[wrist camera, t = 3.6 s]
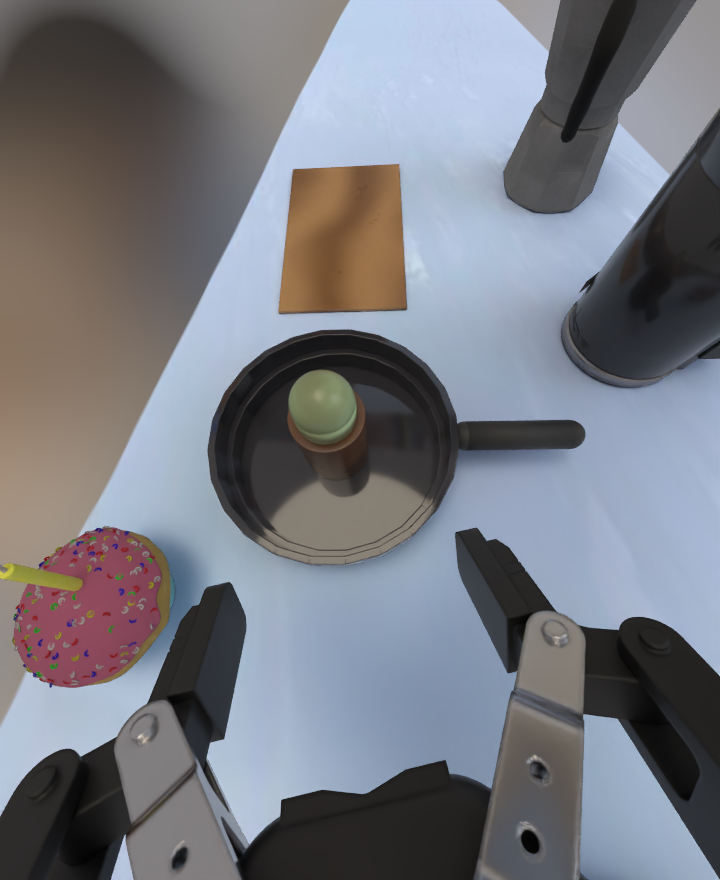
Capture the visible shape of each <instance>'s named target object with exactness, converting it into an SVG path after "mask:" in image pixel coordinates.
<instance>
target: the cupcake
mask: <svg viewBox="0 0 720 880" xmlns="http://www.w3.org/2000/svg"><path fill="white" fill-rule="evenodd" d="M106 527H107V528H106ZM87 532H88V533H87ZM59 548H60V549H59ZM58 549H59V550H58ZM57 550H58V551H57ZM55 551H56V553H53V554H52V555H51V556H50V557H46V558H45V559H44V560H45V561H44V562H42V563H40V564H39V567H40V568H39V569H34V568H30V567H25V566H21V565H16V564H11V563H8V564H5V565H4V566H2V565H0V578H1V579H5V580H11V581H17V582H23V583H28V585H27V587H26V589H25V591H24V593H23V595H22V598H21V602H20V604H19V605H18V606H17V607H16V609H17V608H18V612H17V614H15V615H14V620H15V628H14V638H13V643H14V645H15V651H17V650H18V652H19V654H20V656H21V658H22V660H23V662H24V663H25V664H24V665H23V666H24V667H26V669H27V671H28V672H30V673H31V672H32V673H33V677H36V678H38V677H39V678H40V679H39V680H41V681H43V682H47V683H50V688H51V687H52V685H55V686H60V687H69V688H76V687H82V686H88V685H95V684H101V683H106V682H109V681H112V680H114V679H116V678H118V677H120V676H121V675H123V674H124V673H126V672H127V671H128V670H129V669H130V668H132V667H133V666H134V665H135V664H136V663H137V662H138V661H139V659H140V658H141V657H142V656H143V655H144V654H145V653H146V651H147V650H148V649H149V648H150V646H151V645H152V644H153V642H154V641H155V640H156V638H157V637H158V636H159V634H160V633H161V632H162V630H163V629H164V628H165V626H166V624H167V622H168V620H169V614H170V609H171V607H172V604H173V601H174V596H175V586H174V581H173V578H172V576H171V574H170V570H169V566H168V562H167V560H166V557H165V555H164V554H163V552H162V551H161V550H160V549H159V548H158V547H157V546H156V545H155V544H153V542H152V541H151V540H150V539H148V538H147V537H145V536H142V535H139V534H136V533H133V532H129V531H123V530H120V529H117V528H113V527H108V526H104V527H103V528H102V529H101V528H97V529H95V530H94V531H86V532H85V534H83V535H82V536H80V537H78V538H76V539H74V540H72V541H71V542H69V543H68V544H67V545H65V546H64V547H58V548H57V549H56V550H55ZM47 558H48V560H47ZM15 616H16V617H15ZM28 669H29V670H28Z"/></svg>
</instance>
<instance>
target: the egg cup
mask: <svg viewBox="0 0 720 880" xmlns="http://www.w3.org/2000/svg"><path fill="white" fill-rule="evenodd" d="M288 407H289V411H288V416H287V422H288V428H289V431H290V433H291V435H292V437H293V438H294V440H295V442H296V443H297V445H298V446H299V448H300V450H301V451H302V453H303V454H304V456H305V458H306V459H307V461H308V462H309V464H310V466H311V467H312V469H313V470H314V471H315V472H316V473H317V474H319V475H320V476H322V477H324V478H327V479H331V480H342V479H346V478H349V477H351V476H353V475H355V474H356V473H357V472H358V471H359V470H360V469H361V468H362V467H363V466H364V464H365V462H366V460H367V456H368V438H367V425H366V413H365V407H364V404H363V401H362V400H361V398H360V396H359V395H358V394H357V393H356V392H355V391H354V390H353V389H352V387H351V386H350V384H349V383H348V382H347V381H346V380H345V378H344V377H342V376H341V375H339V374H337V373H335V372H333V371H329V370H314V371H310V372H308V373H306V374H304V375H303V376H301V377H300V378H299V379H298V380H297V381H296V382H295V384H294V385H293V387H292V389H291V391H290V394H289V400H288Z"/></svg>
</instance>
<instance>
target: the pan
mask: <svg viewBox="0 0 720 880" xmlns="http://www.w3.org/2000/svg"><path fill="white" fill-rule="evenodd" d="M314 370H329V371H333V372H335V373H337V374H339V375H341V376H342V377H344V378H345V380H346V381H347V382H348V383H349V384H350V386H351V387H352V389H353V390H354V391H355V392H356V393H357V394H358V395H359V396H360V398H361V400H362V401H363V404H364V407H365V413H366V425H367V438H368V456H367V460H366V462H365V464H364V466H363V467H362V468H361V469H360V470H359V471H358V472H357V473H356V474H355V475H353V476H351V477H349V478H346V479H342V480H331V479H327V478H324V477H322V476H320V475H319V474H317V473H316V472H315V471H314V470H313V469H312V467H311V466H310V464H309V462H308V461H307V459H306V458H305V456H304V454H303V453H302V451H301V450H300V448H299V446H298V445H297V443H296V442H295V440H294V438H293V437H292V435H291V433H290V431H289V428H288V422H287V416H288V411H289V407H288V400H289V394H290V391H291V389H292V387H293V385H294V384H295V382H296V381H297V380H298V379H299V378H300V377H301V376H303V375H304V374H306V373H308V372H310V371H314ZM458 451H459V439H458V429H457V419H456V414H455V412H454V409H453V407H452V404H451V402H450V399H449V397H448V394H447V392H446V389H445V387H444V386H443V385H442V383H441V382H440V381H439V379H438V378H437V377H436V375H435V374H434V373H433V372H432V370H431V369H430V368H429V366H428V365H427V364H426V363H425V362H423V361H422V360H421V359H419V358H418V357H417V356H416V355H414V354H413V353H412V352H411V351H409V350H408V349H407V348H405V347H404V346H402V345H399V344H397V343H395V342H393V341H390V340H388V339H386V338H384V337H382V336H379V335H376V334H371V333H365V332H360V331H355V330H320V331H316V332H312V333H308V334H304V335H300V336H296V337H293V338H290V339H288V340H286V341H284V342H282V343H280V344H278V345H276V346H274V347H272V348H270V349H268V350H266V351H265V352H263V353H262V354H261V355H260V356H258V357H257V358H256V359H255V360H253V361H252V362H251V363H250V364H248V365H247V366H246V367H245V368H243V370H242V371H241V372H240V373H239V375H238V376H237V377H236V379H235V380H234V381H233V382H232V384H231V385H230V386H229V387H228V389H227V390H226V391H225V393H224V395H223V397H222V400H221V402H220V404H219V406H218V408H217V411H216V413H215V415H214V417H213V420H212V426H211V432H210V438H209V444H208V458H209V467H210V475H211V482H212V484H213V486H214V489H215V491H216V493H217V496H218V498H219V500H220V503H221V505H222V507H223V509H224V511H225V512H226V513H227V515H228V516H229V517H230V518H231V519H232V521H233V522H234V523H235V524H236V525H237V526H238V528H239V529H240V530H241V531H242V532H243V534H244V535H246V536H247V537H248V538H250V539H251V540H253V541H254V542H256V543H257V544H259V545H261V546H262V547H264V548H265V549H267V550H268V551H270V552H271V553H273V554H275V555H278V556H281V557H285V558H288V559H292V560H295V561H299V562H302V563H305V564H310V565H317V566H350V565H351V566H352V565H356V564H359V563H363V562H366V561H370V560H373V559H377V558H380V557H381V556H382V557H383V556H384V555H386V554H388V553H389V552H391V551H393V550H394V549H396V548H397V547H399V546H401V545H402V544H404V543H406V542H407V541H408V540H410V539H411V538H412V537H413V536H414V534H415V533H416V532H417V531H418V530H419V529H420V528H421V527H422V526H423V525H424V524H425V523H426V522H427V520H428V519H429V518H430V517H431V516H432V515H433V514H434V513H435V512H436V511H437V509H438V508H439V506H440V504H441V502H442V500H443V498H444V496H445V494H446V492H447V490H448V488H449V486H450V484H451V482H452V480H453V478H454V472H455V467H456V462H457V456H458Z"/></svg>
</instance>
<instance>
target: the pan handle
mask: <svg viewBox="0 0 720 880" xmlns="http://www.w3.org/2000/svg"><path fill="white" fill-rule="evenodd" d="M457 429H458V439H459V449H460V450H531V449H573V448H576V447H578V446H579V445H581V444H582V442H583V441H584V439H585V430H584V428H583V426H582V425H581V424H580V423H578V422H576V421H573V420H534V421H470V422H460V423H458V424H457Z"/></svg>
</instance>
